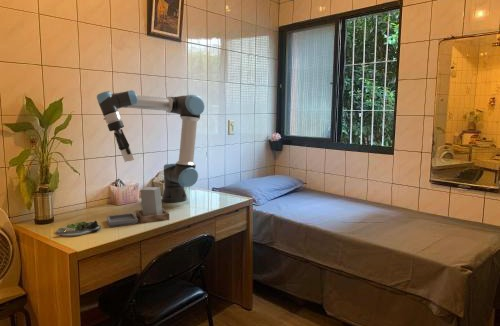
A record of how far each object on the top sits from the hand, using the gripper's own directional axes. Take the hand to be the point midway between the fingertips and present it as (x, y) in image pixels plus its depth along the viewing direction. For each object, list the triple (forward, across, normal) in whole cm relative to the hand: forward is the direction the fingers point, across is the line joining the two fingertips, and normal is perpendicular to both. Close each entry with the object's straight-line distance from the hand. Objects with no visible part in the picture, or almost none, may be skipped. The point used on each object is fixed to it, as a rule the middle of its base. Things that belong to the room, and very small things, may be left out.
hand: (129, 161), depth 193 cm
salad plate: (+23, +11, -33) cm, 42 cm away
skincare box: (+31, +6, 0) cm, 32 cm away
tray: (+27, +6, -15) cm, 32 cm away
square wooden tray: (+31, +6, 0) cm, 32 cm away
